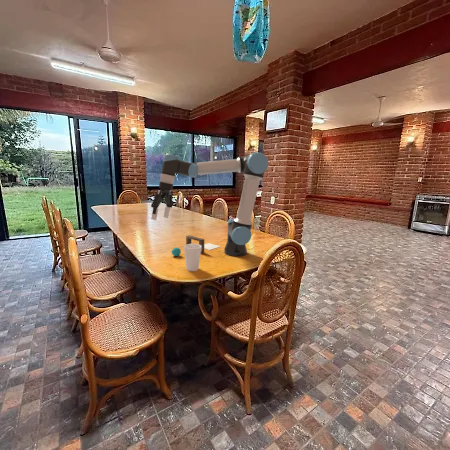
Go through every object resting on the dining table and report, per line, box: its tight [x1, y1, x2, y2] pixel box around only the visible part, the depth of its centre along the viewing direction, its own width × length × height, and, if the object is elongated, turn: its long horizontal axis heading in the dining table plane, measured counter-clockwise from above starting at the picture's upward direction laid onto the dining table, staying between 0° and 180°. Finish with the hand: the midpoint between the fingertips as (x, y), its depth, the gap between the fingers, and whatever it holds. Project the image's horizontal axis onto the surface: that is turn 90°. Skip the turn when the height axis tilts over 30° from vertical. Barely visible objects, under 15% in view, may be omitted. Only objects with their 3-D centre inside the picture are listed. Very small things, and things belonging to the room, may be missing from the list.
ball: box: [171, 246, 181, 257], centre depth 153 cm, size 6×6×6 cm
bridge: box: [185, 234, 205, 254], centre depth 165 cm, size 3×14×9 cm, turn 50°
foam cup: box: [183, 243, 202, 272], centre depth 132 cm, size 10×9×13 cm
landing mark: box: [204, 242, 222, 251], centre depth 176 cm, size 12×12×1 cm
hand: (160, 218), depth 141 cm, fingers open, 13 cm apart
